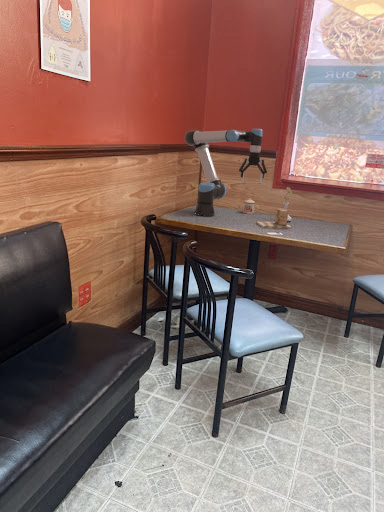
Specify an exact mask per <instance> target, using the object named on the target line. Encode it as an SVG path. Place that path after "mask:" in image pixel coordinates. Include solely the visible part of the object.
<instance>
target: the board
mask: <svg viewBox="0 0 384 512" xmlns="http://www.w3.org/2000/svg"><path fill="white" fill-rule="evenodd" d="M255 224H256V225H258V226H260V228H262V229H282V230H283V229H284V230H285V229H286V230H291V229H292V226H291V225H289V224H287V225H286V226H279V225H278V224H276V223H275V221H256V222H255Z"/></svg>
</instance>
